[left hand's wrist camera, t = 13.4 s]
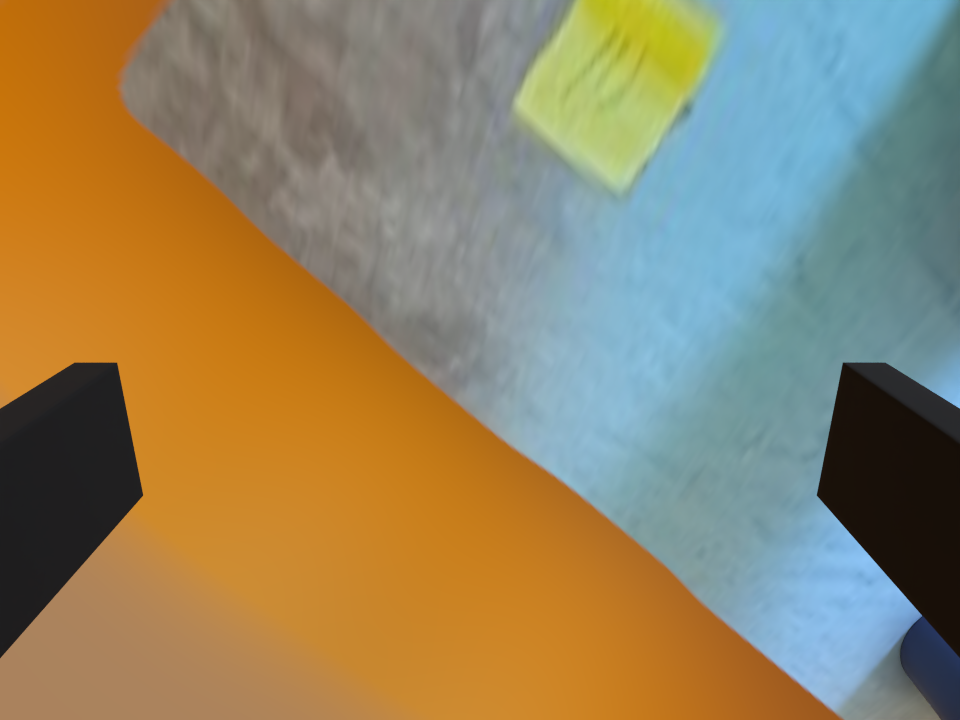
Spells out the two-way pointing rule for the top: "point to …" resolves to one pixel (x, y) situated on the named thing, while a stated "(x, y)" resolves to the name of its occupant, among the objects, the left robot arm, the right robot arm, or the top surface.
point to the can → (933, 669)
